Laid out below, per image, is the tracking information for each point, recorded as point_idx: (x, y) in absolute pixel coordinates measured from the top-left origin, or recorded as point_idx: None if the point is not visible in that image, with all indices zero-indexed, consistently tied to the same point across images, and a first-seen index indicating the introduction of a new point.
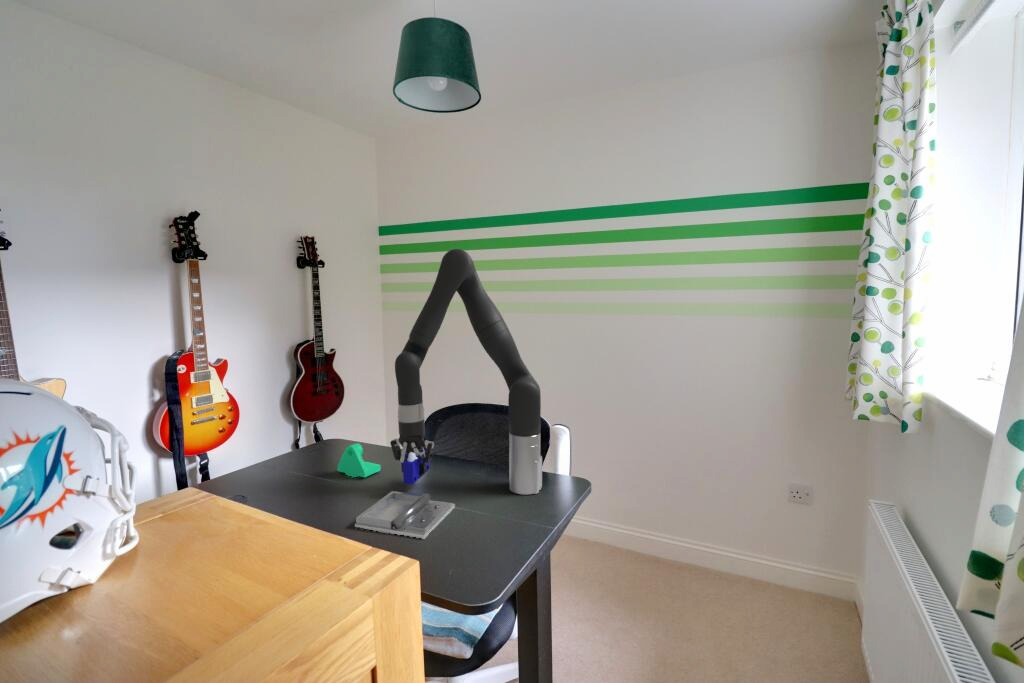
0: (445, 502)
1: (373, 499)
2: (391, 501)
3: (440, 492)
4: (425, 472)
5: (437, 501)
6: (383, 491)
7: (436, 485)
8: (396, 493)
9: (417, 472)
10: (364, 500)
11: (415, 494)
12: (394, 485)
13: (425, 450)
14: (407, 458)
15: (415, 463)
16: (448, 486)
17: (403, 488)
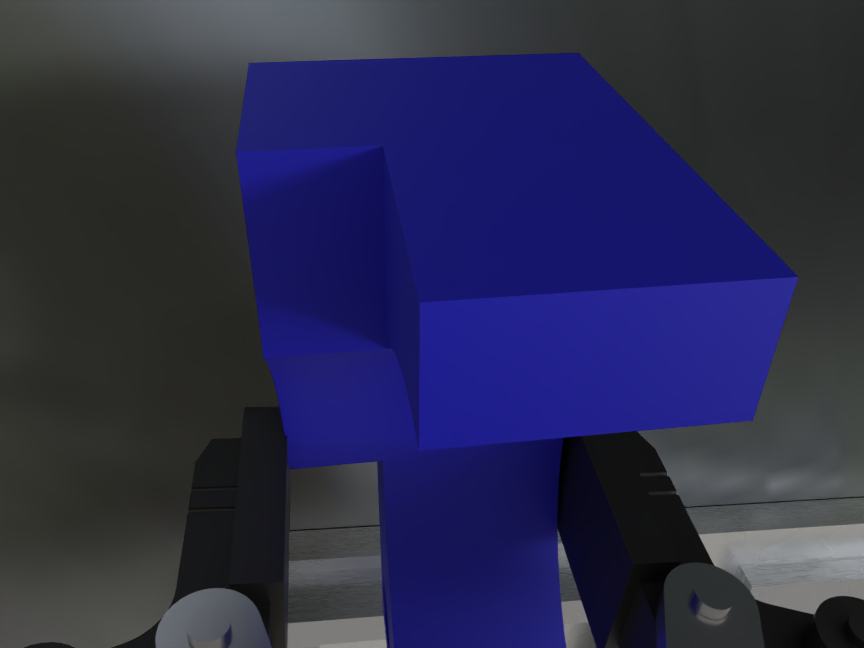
0: (857, 582)
1: (82, 589)
2: (339, 643)
3: None
4: (636, 448)
5: (785, 587)
6: (28, 432)
7: (646, 85)
8: (356, 638)
9: (557, 594)
10: (10, 625)
11: (565, 606)
12: (20, 244)
13: (667, 315)
14: (265, 636)
15: (364, 354)
16: (825, 76)
17: (222, 296)
